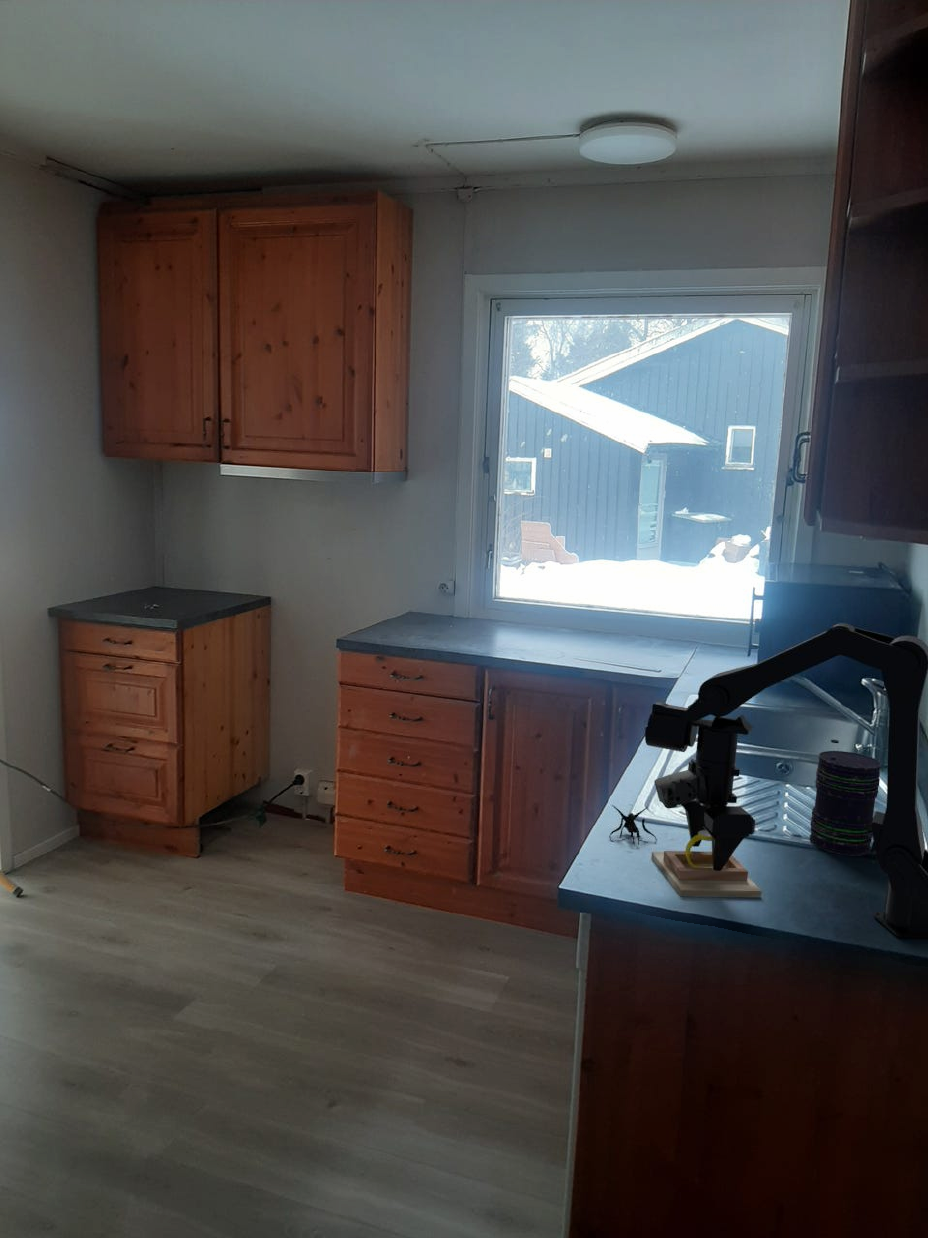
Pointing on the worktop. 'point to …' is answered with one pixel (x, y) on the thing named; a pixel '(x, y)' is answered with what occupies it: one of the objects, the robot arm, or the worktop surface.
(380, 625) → the worktop surface
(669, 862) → the wooden framed tray
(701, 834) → the watch
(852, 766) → the dark purple barrel
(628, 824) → the creature
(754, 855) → the worktop surface
